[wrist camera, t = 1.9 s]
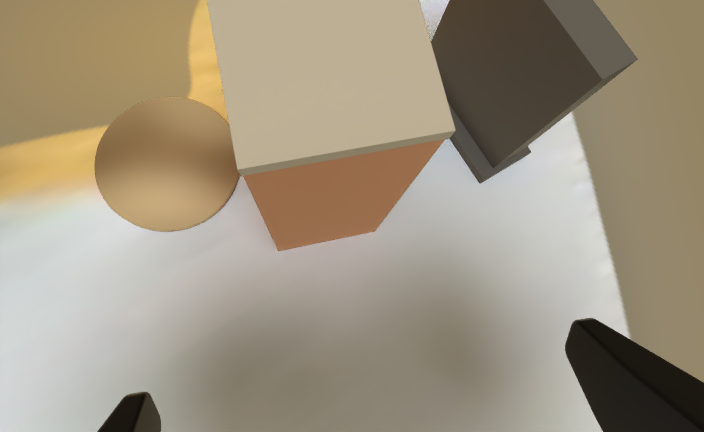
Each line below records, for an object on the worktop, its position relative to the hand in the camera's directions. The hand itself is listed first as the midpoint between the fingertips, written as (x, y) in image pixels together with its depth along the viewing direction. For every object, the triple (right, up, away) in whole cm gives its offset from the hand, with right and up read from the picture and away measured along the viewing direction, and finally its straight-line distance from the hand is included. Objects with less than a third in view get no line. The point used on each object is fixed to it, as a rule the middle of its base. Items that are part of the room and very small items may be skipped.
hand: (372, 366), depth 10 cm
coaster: (-10, +6, +14) cm, 18 cm away
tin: (-2, +4, +14) cm, 15 cm away
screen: (+6, +9, +16) cm, 19 cm away
